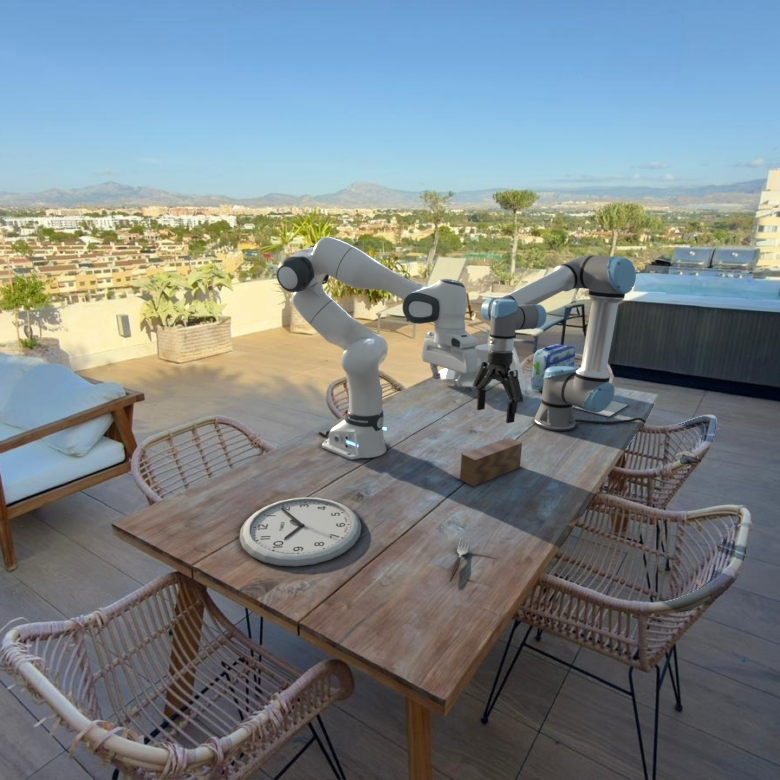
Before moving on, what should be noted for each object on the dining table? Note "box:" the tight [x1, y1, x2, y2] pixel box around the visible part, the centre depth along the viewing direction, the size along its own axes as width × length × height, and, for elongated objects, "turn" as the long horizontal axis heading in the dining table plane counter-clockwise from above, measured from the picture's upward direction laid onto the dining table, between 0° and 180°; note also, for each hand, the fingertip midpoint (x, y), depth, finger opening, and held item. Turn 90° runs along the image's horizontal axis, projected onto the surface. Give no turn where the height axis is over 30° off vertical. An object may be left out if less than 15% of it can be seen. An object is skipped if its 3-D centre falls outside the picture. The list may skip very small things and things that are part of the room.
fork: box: [449, 535, 471, 582], centre depth 119 cm, size 3×16×2 cm, turn 160°
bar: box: [459, 437, 523, 487], centre depth 162 cm, size 22×6×8 cm, turn 128°
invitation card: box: [573, 400, 629, 418], centre depth 226 cm, size 21×1×15 cm
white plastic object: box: [438, 342, 531, 397], centre depth 245 cm, size 37×45×31 cm
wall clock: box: [239, 497, 362, 567], centre depth 131 cm, size 30×2×30 cm
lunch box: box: [530, 343, 576, 392], centre depth 248 cm, size 26×11×21 cm, turn 134°
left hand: (446, 382), depth 156 cm, fingers open, 8 cm apart
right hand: (494, 415), depth 167 cm, fingers open, 13 cm apart
